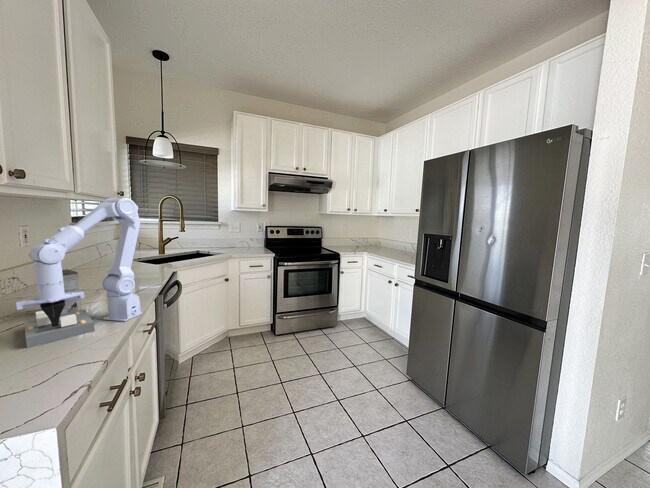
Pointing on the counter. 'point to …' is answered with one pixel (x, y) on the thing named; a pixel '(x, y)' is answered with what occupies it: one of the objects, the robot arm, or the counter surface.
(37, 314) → the switch far
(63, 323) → the switch near
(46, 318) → the switch middle
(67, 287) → the coffee box
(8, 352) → the counter surface
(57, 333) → the switch box
